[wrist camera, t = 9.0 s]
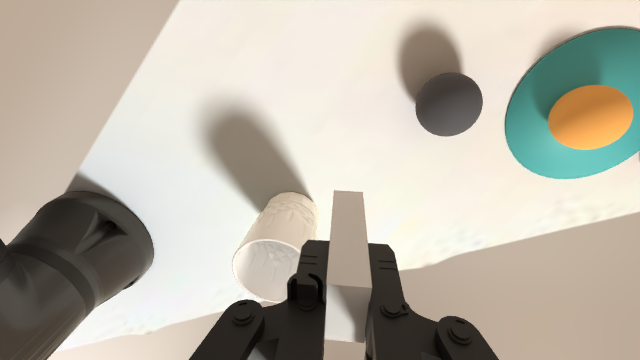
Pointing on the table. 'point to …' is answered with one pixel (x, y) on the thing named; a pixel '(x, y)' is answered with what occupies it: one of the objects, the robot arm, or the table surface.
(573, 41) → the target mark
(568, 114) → the object ball
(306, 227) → the white cup
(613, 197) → the table surface
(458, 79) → the dark grey sphere
